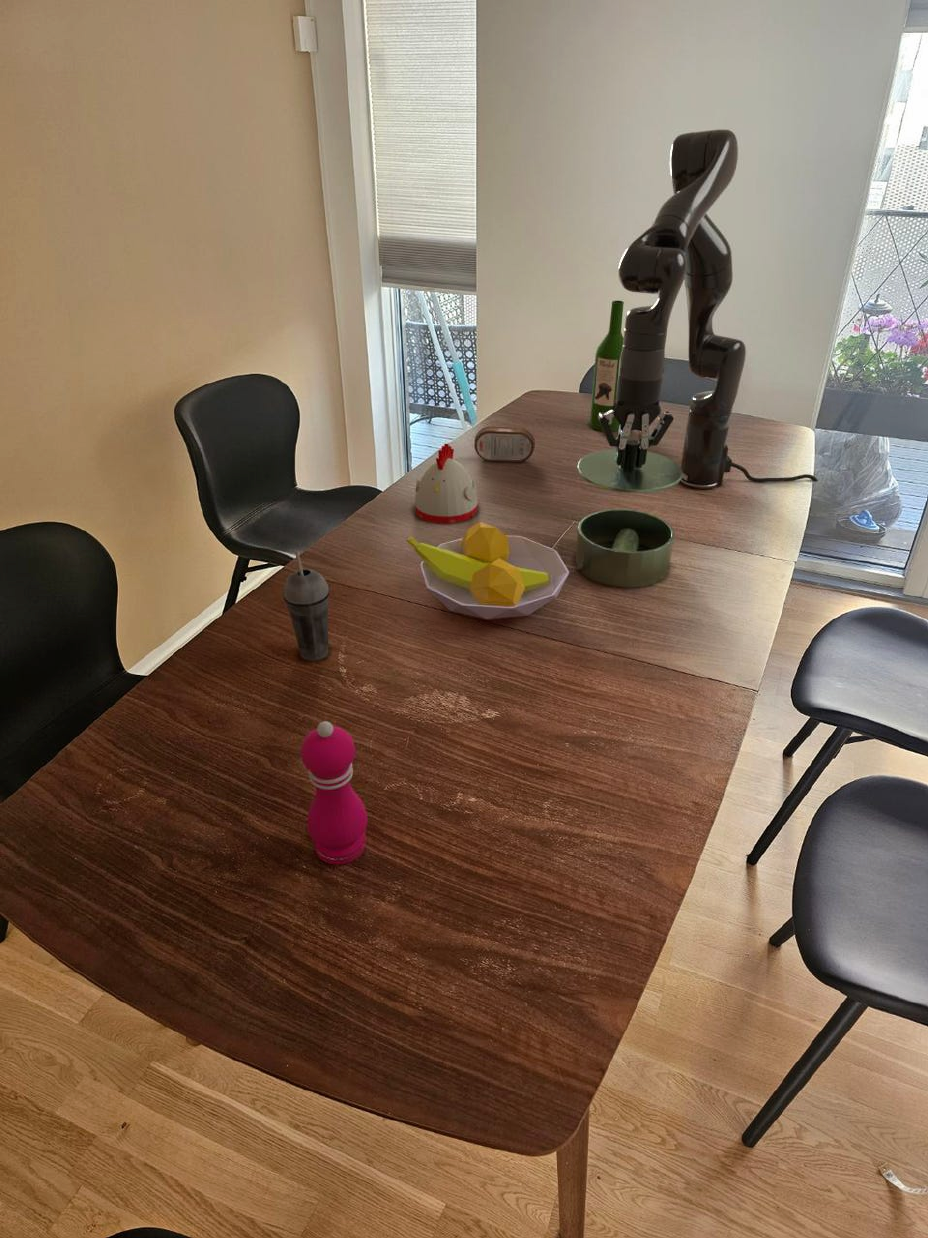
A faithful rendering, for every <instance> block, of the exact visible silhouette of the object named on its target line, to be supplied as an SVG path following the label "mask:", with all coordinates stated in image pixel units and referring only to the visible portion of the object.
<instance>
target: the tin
mask: <svg viewBox="0 0 928 1238" xmlns="http://www.w3.org/2000/svg"><path fill="white" fill-rule="evenodd" d="M473 446H474V450H475V453H476V454H477V456H478V457H480V458H481V459H482V460H484V461H487V462H503V463H504V462H508V463H509V462H510V463H522V462H525V461H527V460H528V459H530V458H531V457H532V455H533V453H534V451H535V448H536V447H535V446H536V440H535V437H534V435H533V434H532V432H531V431H530V430H528V429H526V428H523V427H512V426H511V427H508V426H485V427H483V428H481V429H480V430H478V432H477V433H476V434H475V436H474V445H473Z"/></svg>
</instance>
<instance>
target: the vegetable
mask: <svg viewBox="0 0 928 1238" xmlns="http://www.w3.org/2000/svg"><path fill="white" fill-rule="evenodd" d="M612 542H613V543H612V545H611V547H610V549H613V550H618V551H628V552H637V551H639V546H640V544H639V538H638V535H637V533H636V532H635V531H634V530H632V529H623V530H621V531H620V532H619V533H618V534H617V536H616V538H615V540H614V541H612Z"/></svg>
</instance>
